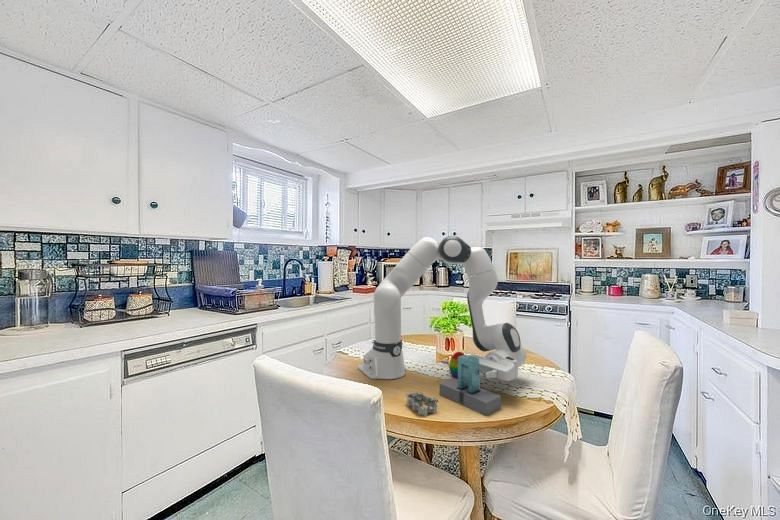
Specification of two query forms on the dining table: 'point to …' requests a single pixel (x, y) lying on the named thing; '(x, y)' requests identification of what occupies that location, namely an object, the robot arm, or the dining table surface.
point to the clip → (468, 373)
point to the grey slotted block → (471, 397)
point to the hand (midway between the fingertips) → (473, 371)
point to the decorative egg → (454, 364)
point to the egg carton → (417, 403)
